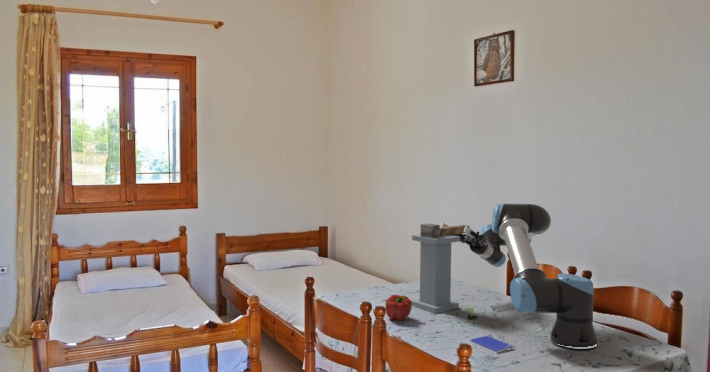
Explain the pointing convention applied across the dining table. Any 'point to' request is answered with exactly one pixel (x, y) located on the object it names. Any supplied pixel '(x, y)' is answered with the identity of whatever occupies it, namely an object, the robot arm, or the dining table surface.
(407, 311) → the vegetable
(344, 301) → the dining table surface
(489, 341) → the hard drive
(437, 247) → the stand
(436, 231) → the mallet
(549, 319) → the dining table surface
